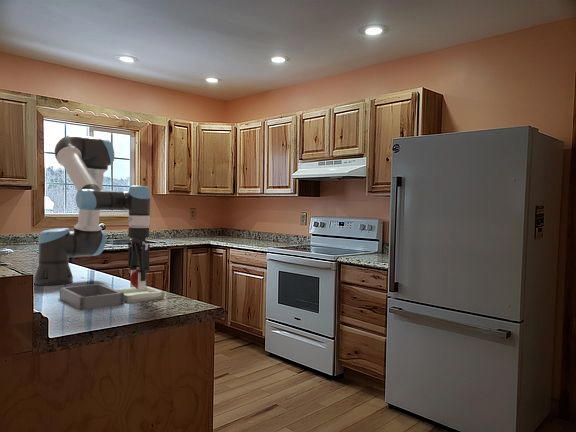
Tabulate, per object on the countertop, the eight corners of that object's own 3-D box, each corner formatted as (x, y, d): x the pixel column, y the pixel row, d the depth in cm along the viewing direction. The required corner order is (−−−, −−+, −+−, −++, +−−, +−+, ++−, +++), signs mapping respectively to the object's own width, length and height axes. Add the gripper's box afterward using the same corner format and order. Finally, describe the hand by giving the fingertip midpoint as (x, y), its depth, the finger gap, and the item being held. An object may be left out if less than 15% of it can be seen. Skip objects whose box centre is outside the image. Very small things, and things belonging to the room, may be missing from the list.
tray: (111, 296, 169) (111, 289, 168) (146, 292, 178) (147, 286, 178) (127, 303, 158) (127, 296, 158) (163, 298, 168) (163, 291, 168)
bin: (59, 298, 163) (59, 287, 163) (99, 294, 173) (100, 283, 172) (80, 310, 146) (80, 298, 146) (123, 304, 156) (123, 293, 156)
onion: (147, 287, 171) (148, 266, 171) (143, 290, 165) (143, 269, 165) (132, 287, 171) (132, 266, 171) (127, 290, 165) (128, 268, 165)
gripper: (119, 225, 172) (118, 285, 172) (140, 228, 158) (139, 293, 159) (137, 225, 177) (136, 283, 178) (160, 228, 163) (158, 291, 164)
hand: (137, 288), depth 168 cm, fingers closed on onion, 6 cm apart
